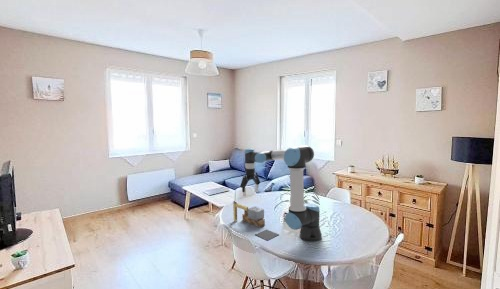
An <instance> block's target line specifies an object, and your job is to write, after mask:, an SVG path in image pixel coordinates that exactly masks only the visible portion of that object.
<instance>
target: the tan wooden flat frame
mask: <svg viewBox="0 0 500 289" xmlns="http://www.w3.org/2000/svg"><path fill="white" fill-rule="evenodd" d="M237 202H238V201H237V200H233V202H232V205H233V222H237V221H238V209H240V210H243V211H244V210H246V211H248V209H249V206H246V205H243V204H241V203H237Z"/></svg>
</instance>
